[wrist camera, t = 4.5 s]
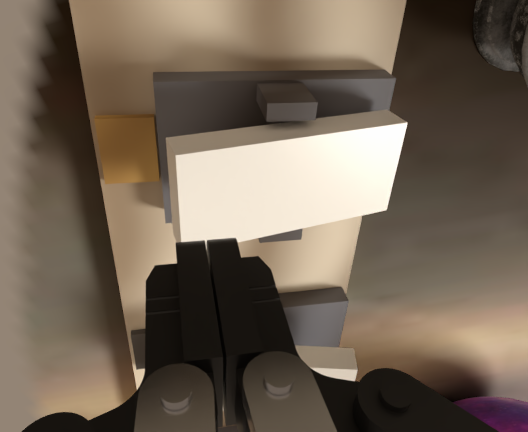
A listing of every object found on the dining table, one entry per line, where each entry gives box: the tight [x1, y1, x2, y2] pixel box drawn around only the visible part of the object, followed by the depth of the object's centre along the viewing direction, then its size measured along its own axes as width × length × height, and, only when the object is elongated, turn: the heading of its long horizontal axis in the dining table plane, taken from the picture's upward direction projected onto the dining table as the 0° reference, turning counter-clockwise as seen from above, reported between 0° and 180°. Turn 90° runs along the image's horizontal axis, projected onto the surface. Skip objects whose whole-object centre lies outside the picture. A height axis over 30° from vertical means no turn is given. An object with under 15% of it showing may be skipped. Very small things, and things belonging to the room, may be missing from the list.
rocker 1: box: [166, 110, 408, 249], centre depth 16 cm, size 8×4×1 cm, turn 87°
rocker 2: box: [223, 345, 358, 411], centre depth 22 cm, size 8×4×1 cm, turn 87°
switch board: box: [69, 0, 407, 432], centre depth 24 cm, size 11×33×4 cm, turn 177°
